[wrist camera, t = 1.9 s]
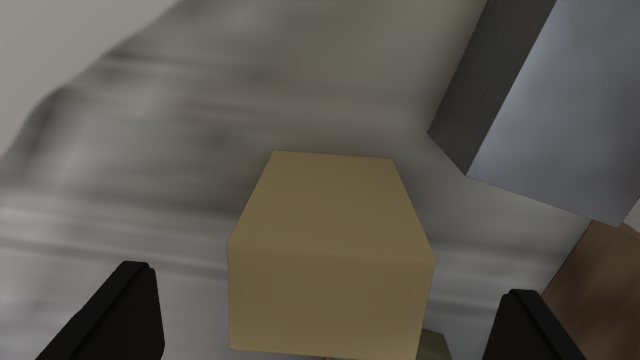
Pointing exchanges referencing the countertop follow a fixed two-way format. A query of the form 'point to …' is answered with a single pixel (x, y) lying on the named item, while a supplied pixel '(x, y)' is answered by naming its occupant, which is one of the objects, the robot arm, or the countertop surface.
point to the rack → (586, 297)
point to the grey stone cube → (550, 104)
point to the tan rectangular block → (329, 261)
